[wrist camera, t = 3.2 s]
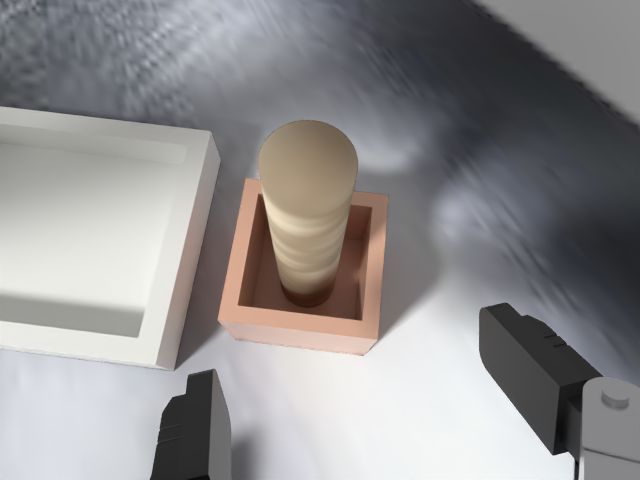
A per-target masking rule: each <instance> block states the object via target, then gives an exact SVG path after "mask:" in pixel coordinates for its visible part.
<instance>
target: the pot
mask: <svg viewBox="0 0 640 480" xmlns="http://www.w3.org/2000/svg"><path fill="white" fill-rule="evenodd" d="M388 198H389V195H384V194H376V193H367V192H359V191H353V196H352V201H351V205H350V210H349V215H348V220H347V225H346V230H345V235H344V240H343V245H342V249H341V254H340V259H339V264H338V269H337V274H336V279H335V284H334V288H333V291H332V293H331V295H330V297H329V298H328V299H327V300H326V301H325V302H324V303H322V304H320V305H318V306H316V307H311V308H304V307H300V306H297V305H295V304H293V303H292V302H290V301H289V300H288V299H287V298H286V296H285V295H284V293H283V291H282V287H281V282H280V277H279V272H278V267H277V262H276V257H275V252H274V247H273V242H272V237H271V232H270V227H269V222H268V217H267V212H266V207H265V202H264V197H263V192H262V187H261V182H260V180H258V179H249V178H246V179H245V184H244V189H243V194H242V199H241V204H240V210H239V215H238V220H237V225H236V230H235V235H234V240H233V245H232V250H231V255H230V260H229V265H228V270H227V275H226V280H225V285H224V290H223V295H222V300H221V305H220V310H219V315H218V321H219V322H220V323H221V324H222V325H223V326H224V328H225V329H226V330H227V331H228V332H229V333H230V334H231V335H232V336H233V337H234V338H235V340H242V341H250V342H258V343H266V344H274V345H282V346H290V347H298V348H305V349H313V350H321V351H329V352H337V353H345V354H353V355H361V356H364V355H365V354H366V352H367V351H368V350H369V349H370V348H371V347H372V346H373V345H374V344H375V343H376V342H377V340H378V332H379V319H380V305H381V292H382V279H383V265H384V252H385V238H386V225H387V211H388Z"/></svg>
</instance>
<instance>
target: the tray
mask: <svg viewBox="0 0 640 480" xmlns="http://www.w3.org/2000/svg"><path fill="white" fill-rule="evenodd" d="M220 162H221V159H220V156H219V153H218V150H217V147H216V144H215V141H214V138H213V135H212V132H211V131H206V130H197V129H189V128H180V127H172V126H163V125H155V124H146V123H138V122H129V121H121V120H112V119H104V118H95V117H86V116H78V115H69V114H61V113H52V112H44V111H35V110H27V109H18V108H10V107H1V106H0V349H3V350H10V351H18V352H26V353H34V354H42V355H50V356H58V357H66V358H74V359H81V360H89V361H97V362H105V363H113V364H121V365H129V366H137V367H145V368H152V369H160V370H168V371H174V368H175V363H176V359H177V354H178V350H179V345H180V341H181V337H182V332H183V328H184V323H185V319H186V314H187V310H188V305H189V301H190V296H191V292H192V287H193V283H194V278H195V274H196V269H197V265H198V261H199V256H200V252H201V247H202V243H203V238H204V234H205V229H206V225H207V220H208V216H209V211H210V207H211V202H212V198H213V194H214V189H215V185H216V180H217V176H218V171H219V167H220Z"/></svg>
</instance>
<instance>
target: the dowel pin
mask: <svg viewBox="0 0 640 480" xmlns="http://www.w3.org/2000/svg"><path fill="white" fill-rule="evenodd" d="M357 171H358V158H357V154H356V151H355V148H354V146H353V144H352V143H351V141H350V140H349V139H348V137H347V136H346V135H345V134H344V133H343V132H341V131H340V130H339V129H337V128H335V127H334V126H332V125H329V124H327V123H324V122H320V121H314V120H301V121H295V122H292V123H288V124H286V125H284V126H282V127H280V128H278V129H277V130H275V131H274V132H273V133H272V134H271V135H270V136H269V137H268V138H267V139H266V140H265V142H264V143H263V145H262V147H261V149H260V152H259V156H258V172H259V177H260V182H261V187H262V192H263V197H264V202H265V207H266V212H267V217H268V222H269V227H270V232H271V237H272V242H273V247H274V252H275V257H276V262H277V267H278V272H279V277H280V282H281V287H282V291H283V293H284V295H285V296H286V298H287V299H288V300H289V301H290V302H292V303H293V304H295V305H297V306H300V307H304V308H311V307H316V306H318V305H320V304H322V303H324V302H325V301H326V300H327V299H328V298H329V297H330V295H331V293H332V291H333V288H334V284H335V279H336V274H337V269H338V264H339V259H340V254H341V249H342V245H343V240H344V235H345V230H346V225H347V220H348V215H349V210H350V205H351V201H352V196H353V191H354V186H355V181H356V176H357Z"/></svg>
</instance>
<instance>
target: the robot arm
mask: <svg viewBox="0 0 640 480" xmlns="http://www.w3.org/2000/svg"><path fill="white" fill-rule="evenodd" d="M479 351H480V356H481V360H482V362H483V364H484V366H485V368H486V370H487V371H488V372H489V374H490V375H491V376H492V378H493V379H494V380H495V381H496V383H497V384H498V385H499V387H500V388H501V389H502V391H503V392H504V393H505V394H506V396H507V397H508V398H509V400H510V401H511V402H512V403H513V405H514V406H515V407H516V409H517V410H518V411H519V413H520V414H521V415H522V416H523V418H524V419H525V420H526V422H527V423H528V424H529V425H530V427H531V428H532V429H533V431H534V432H535V433H536V435H537V436H538V437H539V438H540V440H541V441H542V442H543V444H544V445H545V446H546V448H547V449H548V450H549V451H550V453H551V454H552V455H553V456H554V455H557V454H561V453H565V452H569V453H570V454H571V455H572V456H573V458H574V464H573V480H640V389H639V388H638V387H636V386H635V385H633V384H631V383H629V382H627V381H624V380H621V379H617V378H612V377H603V376H602V375H601V374H600V373H599V372H598V371H597V370H596V369H595V368H594V367H592V366H591V365H590V364H589V363H588V362H587V361H586V360H585V359H584V358H583V357H581V356H580V355H579V354H578V353H577V352H576V351H575V350H574V349H573V348H572V347H570V346H569V345H567V343H566V342H565V341H564V340H563V339H562V338H561V337H559V336H557V334H556V333H555V332H554V331H553V330H552V329H551V328H550V327H548V326H547V325H546V324H545V323H544V322H542V321H539V320H537V319H535V318H533V317H531V316H529V315H525V316H521V315H520V314H519V313H518V312H517V311H516V310H515V309H514V308H512V307H511V306H510V305H509V304H508V303H501V304H497V305H493V306H488V307H484V308H481V310H480V313H479ZM151 480H231V424H230V417H229V412H228V408H227V405H226V401H225V398H224V395H223V391H222V388H221V385H220V381H219V378H218V375H217V372H216V370H215V369H211V370H207V371H202V372H198V373H194V374H189V375H188V379H187V388H186V394H184V395H180V396H176V397H172V399H171V400H170V402H169V403H168V405H167V406H166V408H165V409H164V411H163V413H162V418H161V424H160V431H159V435H158V444H157V447H156V452H155V458H154V464H153V470H152V475H151Z"/></svg>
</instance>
